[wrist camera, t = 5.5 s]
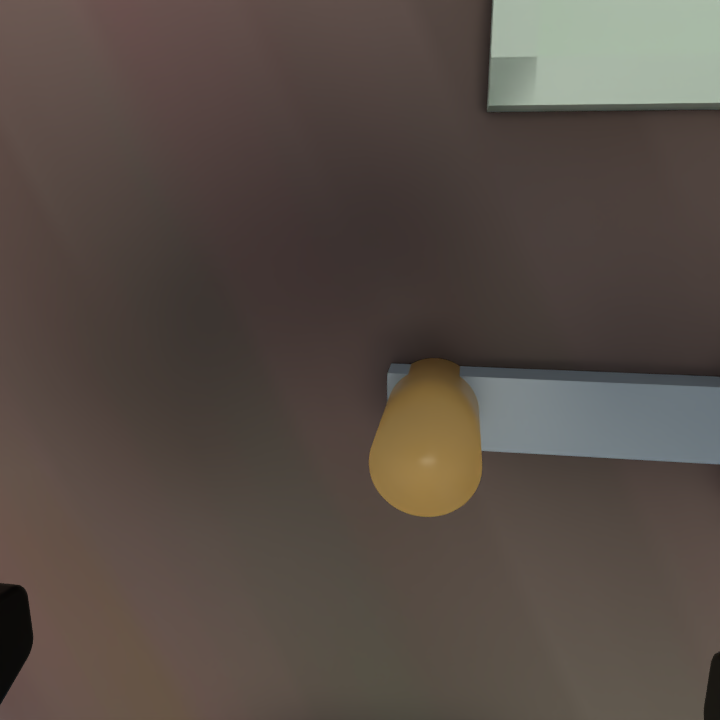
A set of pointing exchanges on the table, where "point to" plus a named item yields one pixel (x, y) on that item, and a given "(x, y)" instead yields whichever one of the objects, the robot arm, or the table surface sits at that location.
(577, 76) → the tray
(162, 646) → the table surface
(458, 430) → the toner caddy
